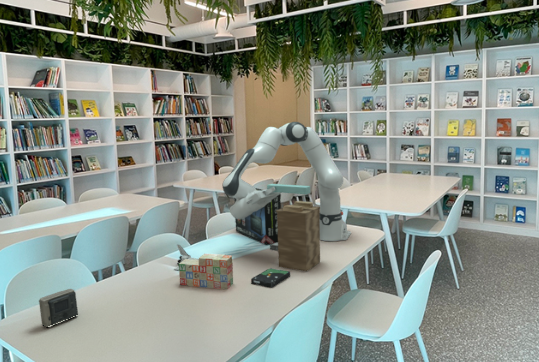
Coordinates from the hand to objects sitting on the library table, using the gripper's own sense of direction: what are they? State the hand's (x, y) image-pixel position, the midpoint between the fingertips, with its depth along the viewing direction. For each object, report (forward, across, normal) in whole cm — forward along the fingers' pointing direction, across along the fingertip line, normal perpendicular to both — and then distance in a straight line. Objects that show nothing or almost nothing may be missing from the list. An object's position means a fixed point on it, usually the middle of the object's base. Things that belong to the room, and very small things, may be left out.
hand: (278, 187), depth 199 cm
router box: (-46, +31, +14) cm, 57 cm away
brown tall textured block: (-9, 0, +36) cm, 37 cm away
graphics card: (-25, +25, +27) cm, 45 cm away
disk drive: (-11, -22, +35) cm, 43 cm away
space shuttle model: (-43, -23, +16) cm, 52 cm away
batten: (+4, 0, +4) cm, 6 cm away
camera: (-49, -88, +12) cm, 101 cm away
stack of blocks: (-29, -39, +24) cm, 54 cm away
